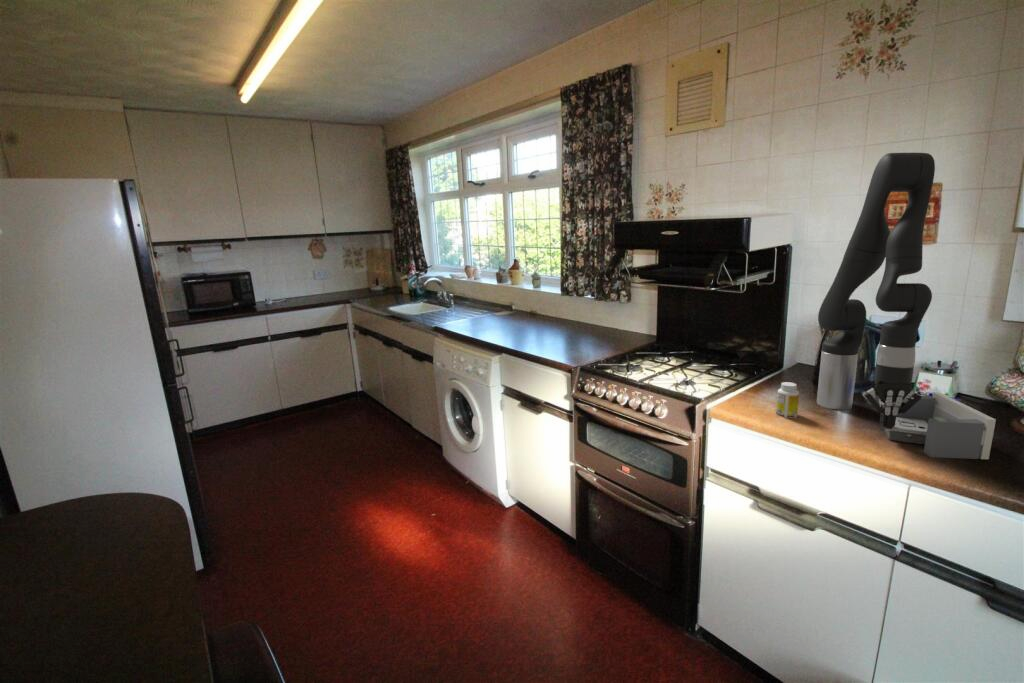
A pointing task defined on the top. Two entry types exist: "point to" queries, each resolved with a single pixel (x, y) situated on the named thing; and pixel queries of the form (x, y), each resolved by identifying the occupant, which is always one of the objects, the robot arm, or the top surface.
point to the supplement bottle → (787, 400)
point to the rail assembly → (953, 428)
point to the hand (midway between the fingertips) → (886, 427)
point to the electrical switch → (908, 430)
